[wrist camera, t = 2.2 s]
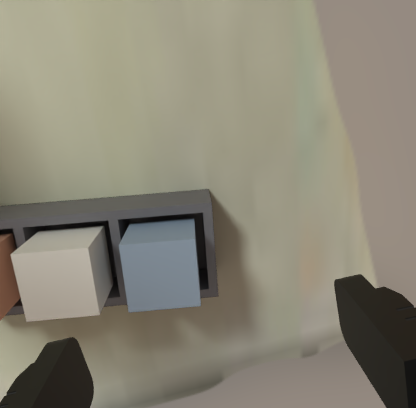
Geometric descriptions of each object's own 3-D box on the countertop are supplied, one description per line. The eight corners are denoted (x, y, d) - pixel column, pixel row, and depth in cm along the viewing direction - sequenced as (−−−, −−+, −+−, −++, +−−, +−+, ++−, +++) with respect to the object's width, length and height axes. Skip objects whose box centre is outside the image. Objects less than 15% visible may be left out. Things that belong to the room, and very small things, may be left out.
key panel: (-25, 292, 32) (-59, 321, 28) (-48, 210, 30) (-88, 227, 26) (214, 271, 33) (218, 296, 28) (208, 189, 31) (211, 202, 26)
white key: (51, 289, 29) (26, 321, 24) (38, 231, 27) (10, 254, 23) (113, 283, 29) (99, 315, 24) (104, 225, 28) (87, 247, 23)
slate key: (137, 281, 29) (128, 312, 25) (130, 223, 28) (118, 245, 23) (199, 276, 29) (200, 305, 25) (194, 218, 28) (195, 238, 23)
